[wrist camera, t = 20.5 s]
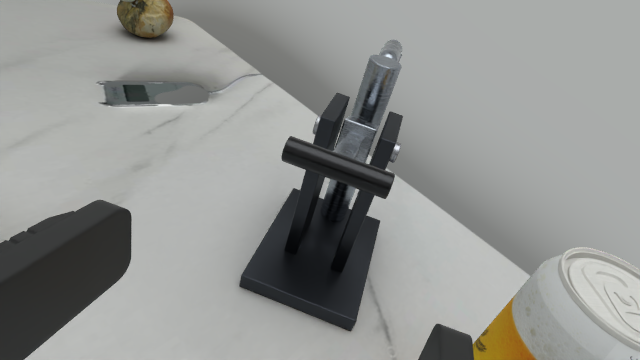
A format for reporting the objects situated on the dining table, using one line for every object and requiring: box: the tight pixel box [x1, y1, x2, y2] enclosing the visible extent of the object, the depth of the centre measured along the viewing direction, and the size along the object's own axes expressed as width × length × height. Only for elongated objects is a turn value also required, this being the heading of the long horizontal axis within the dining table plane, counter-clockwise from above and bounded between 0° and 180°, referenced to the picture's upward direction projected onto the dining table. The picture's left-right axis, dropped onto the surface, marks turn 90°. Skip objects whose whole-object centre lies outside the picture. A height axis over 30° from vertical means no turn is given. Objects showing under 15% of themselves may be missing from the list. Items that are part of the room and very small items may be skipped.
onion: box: [117, 0, 173, 38], centre depth 61 cm, size 8×8×8 cm
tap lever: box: [282, 116, 395, 199], centre depth 23 cm, size 12×5×2 cm, turn 164°
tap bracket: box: [240, 93, 403, 331], centre depth 30 cm, size 12×9×14 cm
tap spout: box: [321, 40, 402, 222], centre depth 35 cm, size 8×2×15 cm, turn 164°
